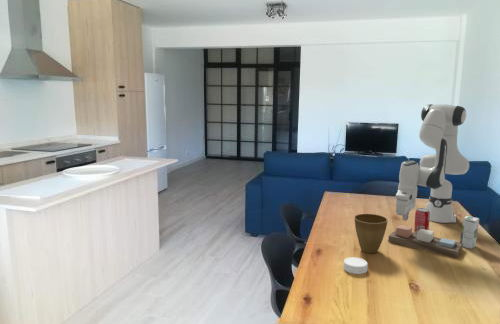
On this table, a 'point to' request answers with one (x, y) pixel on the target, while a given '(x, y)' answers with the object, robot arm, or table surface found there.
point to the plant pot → (370, 231)
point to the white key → (425, 235)
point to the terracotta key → (404, 231)
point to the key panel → (426, 244)
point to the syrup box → (469, 231)
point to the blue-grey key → (447, 243)
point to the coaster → (355, 265)
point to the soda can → (421, 219)
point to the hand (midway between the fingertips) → (405, 220)
